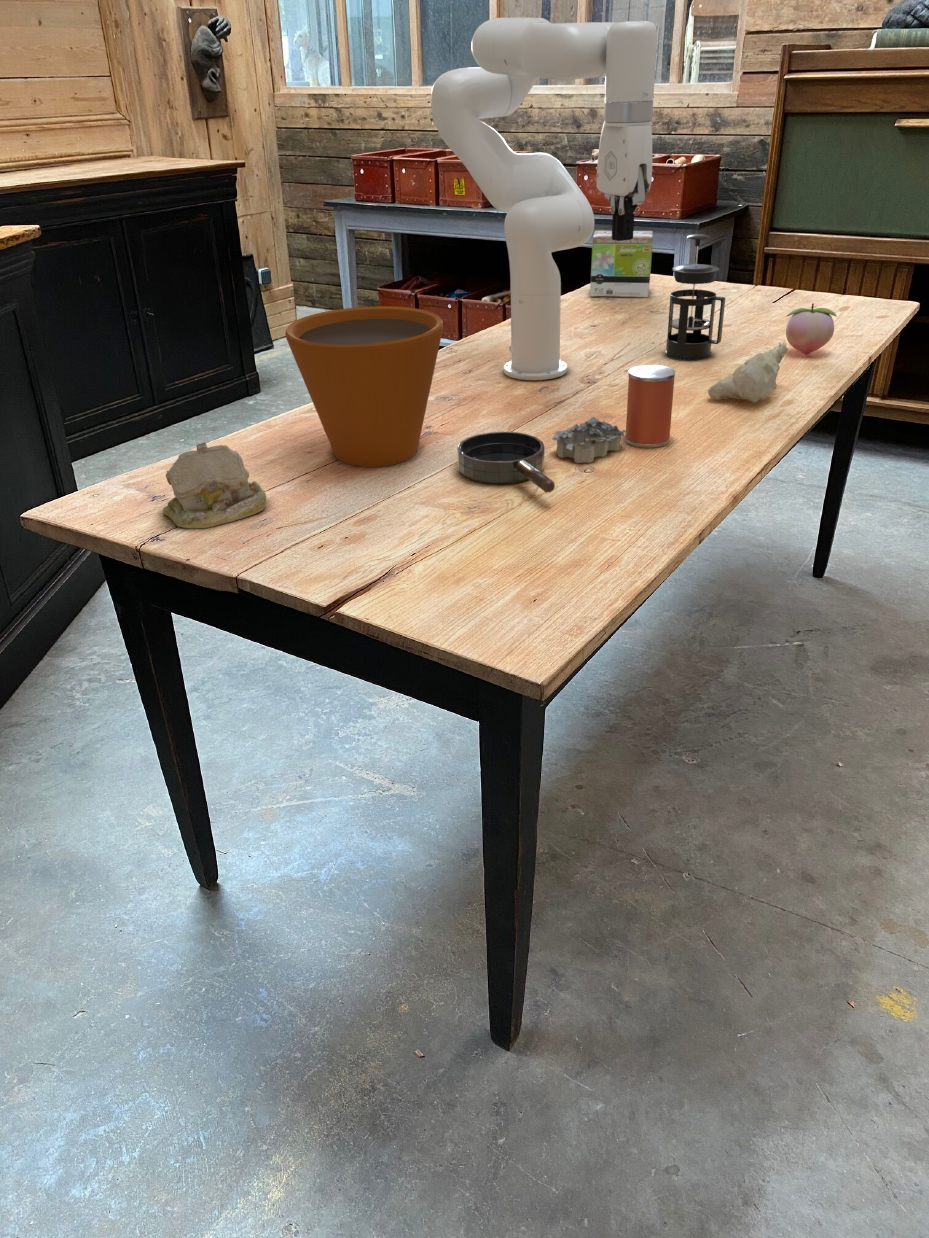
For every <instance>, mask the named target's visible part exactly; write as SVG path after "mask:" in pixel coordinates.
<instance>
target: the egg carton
mask: <svg viewBox="0 0 929 1238" xmlns="http://www.w3.org/2000/svg"><path fill="white" fill-rule="evenodd" d="M625 434H626V429H622V430H620V429H619V427H618V426H617V425H612V424H611V423H608V422H606V421H605V420H603V421H601V420H599V419H598V418H596V417H594V416H591V418H589V419H588V420H586V421H585V422H583V423H581V422H580V424H577V423H576V424H575V425H573V426H571V427H568V428H567V429H565V430H557V431H555V433H554V434H553V437H552V441H553V442H556V453H557V456H558V457H559V458H561V459H564V458H570V459H574V463H576V464H583V463H587V464H588V463H592V462H594V460H595V457H601V458H602V457H605V456H608V452H609V451H613V452H617V451H621V441H622V438H625Z"/></svg>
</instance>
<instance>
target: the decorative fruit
mask: <svg viewBox="0 0 929 1238" xmlns="http://www.w3.org/2000/svg"><path fill="white" fill-rule="evenodd" d="M814 306H815V303H811V308H805V307H800V308H795V309H793V310H792V311H790V312H789V313H788V314H787V315H786V316H785V317H789V319H788V321H787V324H786V327H785V338H786V340H787V342H788V343H789V345H790V346H791V347H792V348H793V349H795V350H796V351H798V352H799V353H802V354H803V355H808V354H809V355H810V354H811V353H813V352H815V351H817V350H820V349H821V348H823V347H824V346H826V345H827V344H828V343H829V342H830V340H831V339H832V338H833V336H834V332H835V324H834V319H833V317H832V316H834V317H838V316H837V314H836V313H835V312H834V311H833V310H832V309H830V308H826V307H817V308H814Z"/></svg>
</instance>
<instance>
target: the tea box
mask: <svg viewBox="0 0 929 1238" xmlns="http://www.w3.org/2000/svg"><path fill="white" fill-rule="evenodd" d="M653 235H654V231H653V230H634V231H633V239H631V240H623V241H616V240H613V239H612V230H594V231H593V236H592V242H591V243H592V245H591V265H590V282H589V283H590V286H589V287H590V289H589V295H590V297H623V298H625V297H627V298H646V299H647V298H648V297H649V293H650V283H651V282H650V281H651V270H652V257H653V242H654V236H653Z"/></svg>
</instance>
